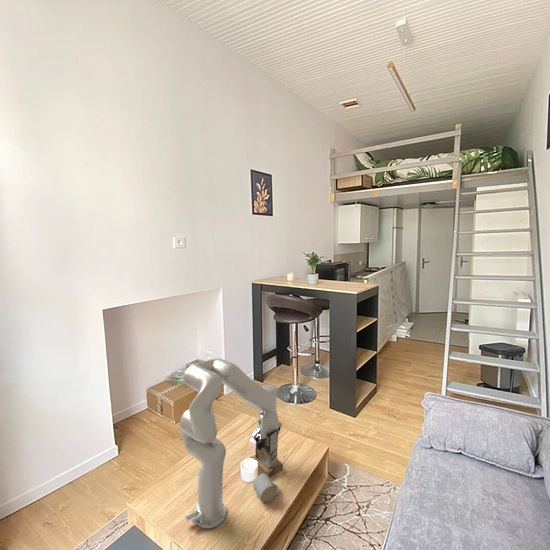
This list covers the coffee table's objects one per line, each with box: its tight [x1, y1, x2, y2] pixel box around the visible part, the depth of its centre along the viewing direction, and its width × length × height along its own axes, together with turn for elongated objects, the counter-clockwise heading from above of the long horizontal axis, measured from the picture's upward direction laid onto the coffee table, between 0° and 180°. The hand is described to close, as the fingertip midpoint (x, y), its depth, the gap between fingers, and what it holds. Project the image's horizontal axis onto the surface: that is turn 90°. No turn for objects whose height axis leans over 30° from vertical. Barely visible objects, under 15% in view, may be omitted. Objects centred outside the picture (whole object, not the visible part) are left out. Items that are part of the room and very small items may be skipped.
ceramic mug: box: [252, 473, 280, 503], centre depth 133 cm, size 11×8×8 cm
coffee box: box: [254, 428, 279, 468], centre depth 149 cm, size 9×6×16 cm
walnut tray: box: [250, 454, 284, 478], centre depth 150 cm, size 10×13×3 cm
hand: (267, 445), depth 149 cm, fingers open, 9 cm apart
